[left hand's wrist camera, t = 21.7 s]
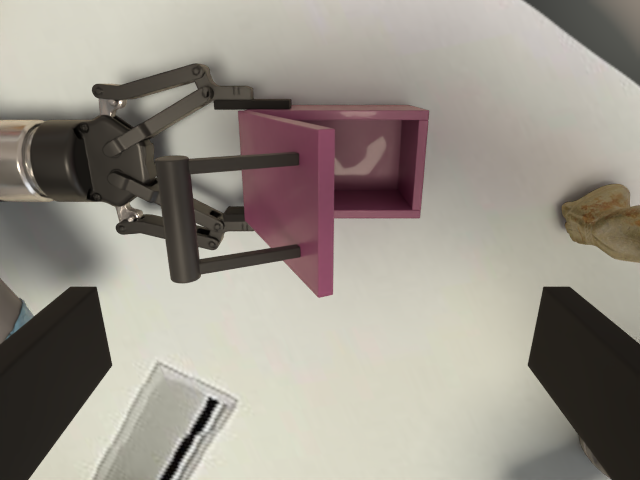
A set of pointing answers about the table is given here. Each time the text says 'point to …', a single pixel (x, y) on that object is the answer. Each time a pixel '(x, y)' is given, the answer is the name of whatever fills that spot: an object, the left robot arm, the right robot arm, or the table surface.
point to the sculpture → (606, 222)
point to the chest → (372, 156)
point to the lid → (261, 200)
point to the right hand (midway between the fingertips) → (291, 161)
